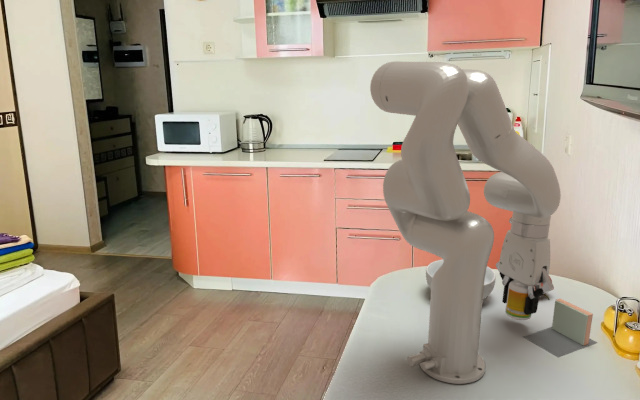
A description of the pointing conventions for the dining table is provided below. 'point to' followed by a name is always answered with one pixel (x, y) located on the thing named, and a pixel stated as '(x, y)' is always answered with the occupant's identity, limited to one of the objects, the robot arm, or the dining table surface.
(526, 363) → the dining table surface
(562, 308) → the tile
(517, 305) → the supplement bottle
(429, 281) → the cereal bowl
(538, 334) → the rubber mat
